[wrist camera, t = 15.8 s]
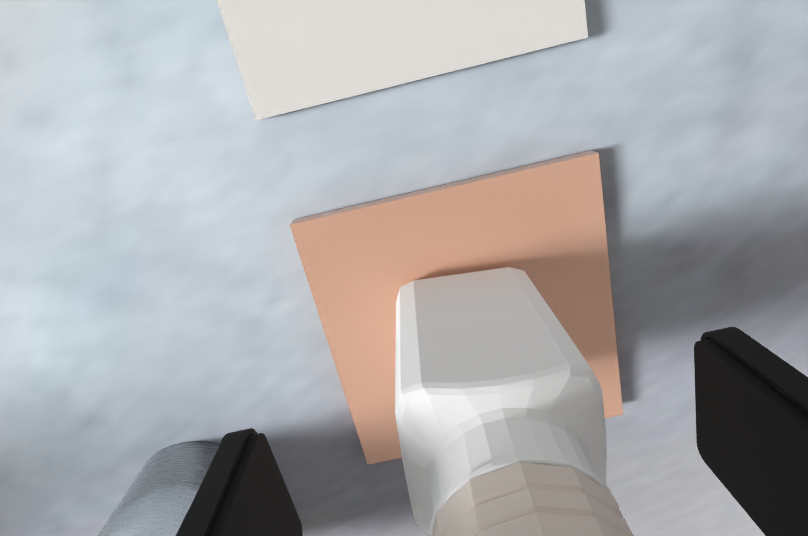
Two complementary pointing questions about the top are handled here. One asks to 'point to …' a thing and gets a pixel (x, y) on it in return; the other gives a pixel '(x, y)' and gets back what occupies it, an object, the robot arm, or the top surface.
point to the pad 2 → (459, 271)
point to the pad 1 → (380, 42)
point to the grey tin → (162, 491)
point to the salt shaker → (498, 413)
